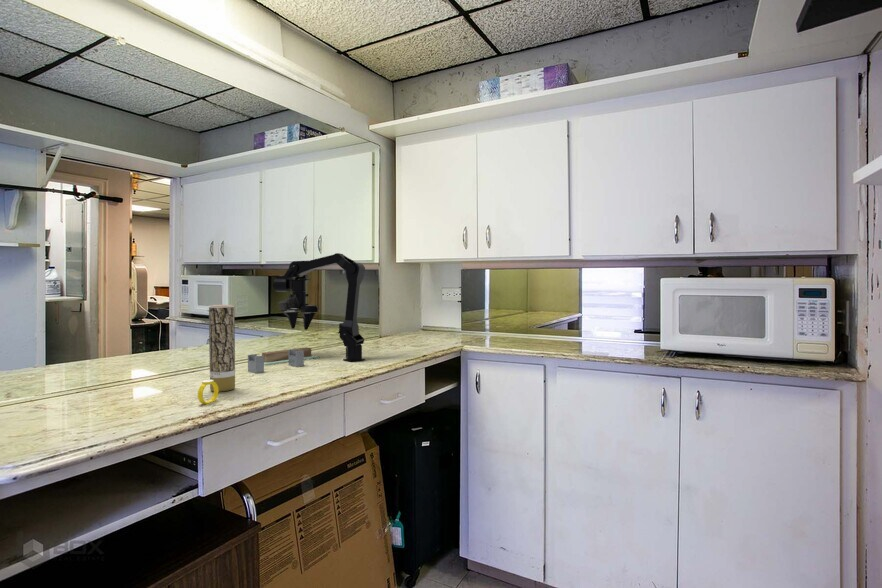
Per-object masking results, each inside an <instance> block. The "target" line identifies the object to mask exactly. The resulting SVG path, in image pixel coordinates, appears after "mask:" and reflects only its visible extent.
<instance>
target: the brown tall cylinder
mask: <svg viewBox="0 0 882 588" xmlns="http://www.w3.org/2000/svg"><path fill="white" fill-rule="evenodd" d="M235 326H236V325H235V306H234V304H212V305H208V333H209V334H208V338H209V350H208V351H209V354H208V355H209V380H214V382H215V383H216V384H217V386H218V390H219V392H222V391H223V392H228V391H233V390H234V389H235V388H236V350H235V349H236V344H235V343H236V340H235V339H236V336H235V332H236V331H235ZM209 389H210V391H212V392H214V387H213V385H212V384H209Z"/></svg>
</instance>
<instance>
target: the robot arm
mask: <svg viewBox="0 0 882 588" xmlns="http://www.w3.org/2000/svg"><path fill="white" fill-rule="evenodd" d="M335 265H338V266H339V267H340V268H341V269H343V270H344V271H345V278H346V281H347V293H346V294H347V296H346V305H345V306H346V307H345V316H344V320H343V322H339V324H338V332H337V334H339V338H340V340H341V341H342V343H343V346H344V347H345V358H343V359H342V360H343V361H345V362H351V361H352V363H353V362H354V361H355V362H360V361H365V360H366V358H363V344H364V343H365V338H364V337H363V336H362V335H361V334H360V327H359V324H358V319H357V317H358V308H359V297H360V286H361V284H362V281H363V279H364V276H365V274H366V267H365V266H364V264H363V263H361V262H356V261H355V260H352V259H351V258H349V257H348V256H346V255H345V254H343V253H340V252H335V253H334V254H331V255H326V256H323V257H322V256H321V257H319V258H318V257H317V258H315V259H314V258H313V259H310V260H295V261H292V262H290V263H289V267H288V269H287V270H286V272H285V274H284V275H275V278H274V280H273V282H272V288H273V290H274V292H277V293H278V292H279V293H280V292H281V293H282V292H283V293H287V292H291V293H289V295H288V298H286V299H283V300H281V301H279V302H278V306H279V309H280V312H282V314H284V315H285V316H286V317H287V319H288V321H289V326H290V327H291V329H295V327H296V324H297V320H298V315H299V314H300V315H301V317H302V320H303V329H304V330H305V331H307V330H308V329H309V327H310V325H311V322H312V321H313V319H314V317H315V315H317V313H318V312H319V306H317V305H316V304H309V303H307V297H309V293H307V281H312V280H311V278H310V277H309V276H308V275H307V274H309V273H311V272H313V271H315V270H317V269H323V268H325V267H326V268H327V267H329V266H335ZM299 311H300V312H301V313H299Z"/></svg>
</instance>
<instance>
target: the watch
mask: <svg viewBox="0 0 882 588" xmlns="http://www.w3.org/2000/svg"><path fill="white" fill-rule="evenodd" d="M210 384H212V385H213V387H214V391H213V394H212V396H211V398H210V399H209V400H207V401H205V399H204V397H203V396H204V390H205V388H206V387H207V386H208V385H210ZM218 396H219V390H218V386H217V384H216V383H215V382H214V380H210V379H205V380H204V379H203V380H202V381H201V385H200V386H199V387H198V390H197V398H198V402H199V403H201V404H202V405H208V403H209V404H210V402H211V403H214V402H215V401H216V400H217V398H218ZM213 401H214V402H213Z"/></svg>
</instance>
